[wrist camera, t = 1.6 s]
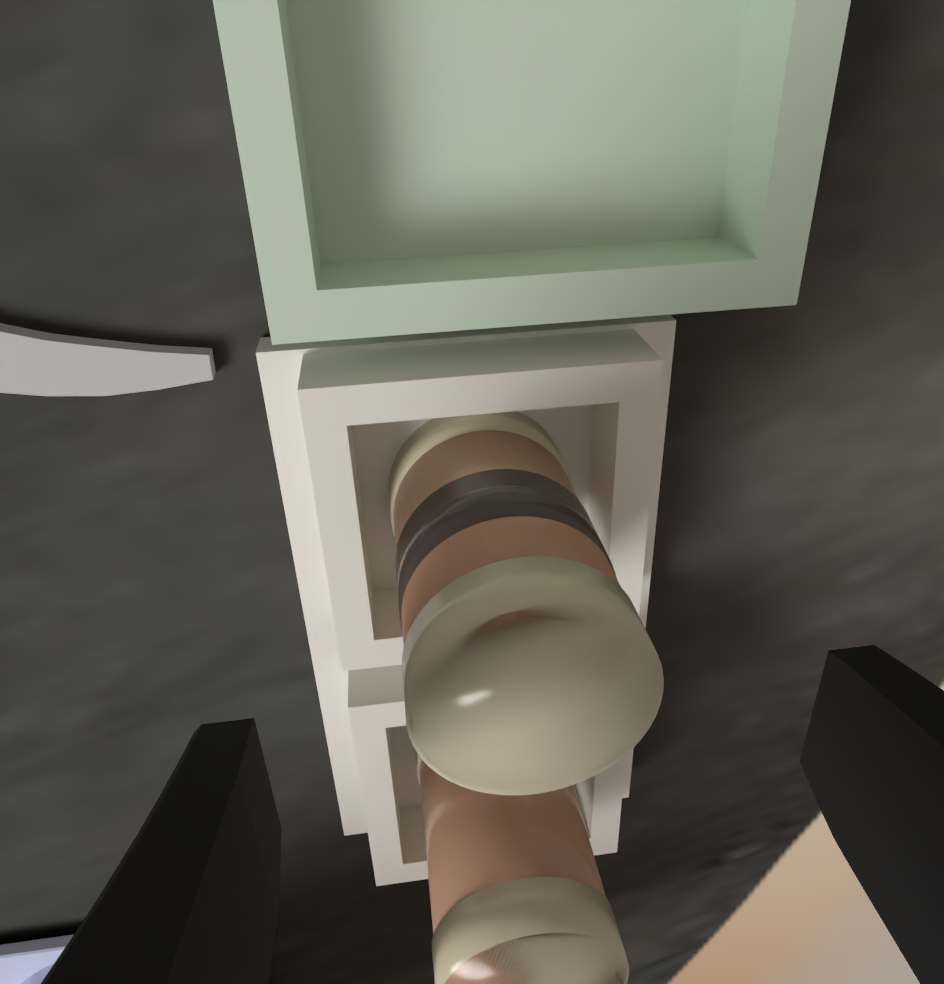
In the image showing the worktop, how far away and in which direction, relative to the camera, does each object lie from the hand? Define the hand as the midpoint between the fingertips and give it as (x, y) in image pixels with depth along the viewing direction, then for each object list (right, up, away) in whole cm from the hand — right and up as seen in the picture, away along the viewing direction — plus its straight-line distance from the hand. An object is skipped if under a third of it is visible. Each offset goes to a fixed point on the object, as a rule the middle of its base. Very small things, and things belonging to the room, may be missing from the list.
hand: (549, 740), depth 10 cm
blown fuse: (-1, +3, +6) cm, 7 cm away
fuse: (-1, -3, +9) cm, 10 cm away
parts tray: (0, +11, +2) cm, 11 cm away
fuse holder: (-1, +1, +8) cm, 8 cm away
